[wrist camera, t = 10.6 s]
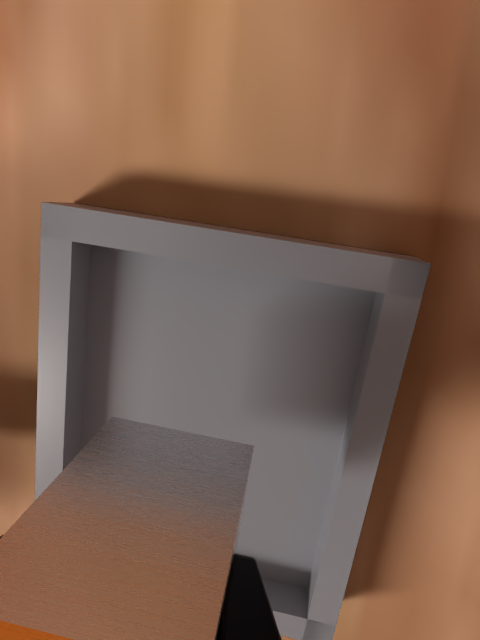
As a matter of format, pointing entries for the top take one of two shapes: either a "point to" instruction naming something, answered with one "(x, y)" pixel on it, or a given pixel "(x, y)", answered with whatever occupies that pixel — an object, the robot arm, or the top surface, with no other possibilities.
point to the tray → (233, 372)
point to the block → (128, 540)
